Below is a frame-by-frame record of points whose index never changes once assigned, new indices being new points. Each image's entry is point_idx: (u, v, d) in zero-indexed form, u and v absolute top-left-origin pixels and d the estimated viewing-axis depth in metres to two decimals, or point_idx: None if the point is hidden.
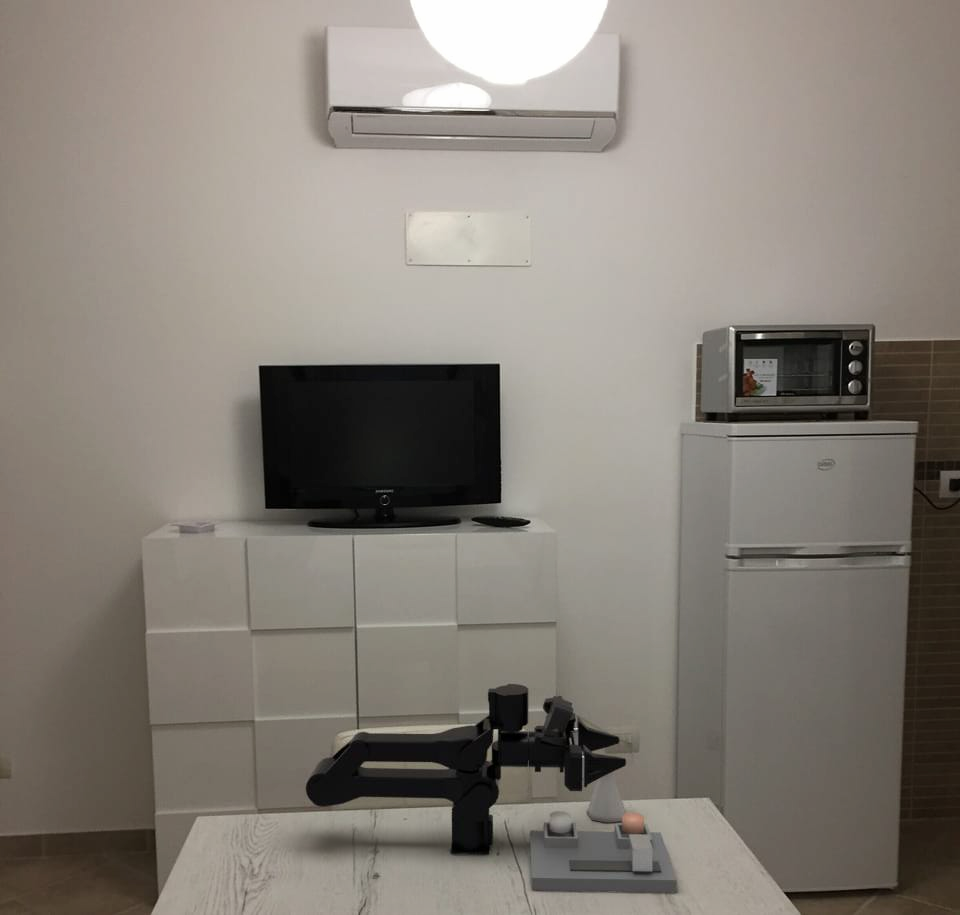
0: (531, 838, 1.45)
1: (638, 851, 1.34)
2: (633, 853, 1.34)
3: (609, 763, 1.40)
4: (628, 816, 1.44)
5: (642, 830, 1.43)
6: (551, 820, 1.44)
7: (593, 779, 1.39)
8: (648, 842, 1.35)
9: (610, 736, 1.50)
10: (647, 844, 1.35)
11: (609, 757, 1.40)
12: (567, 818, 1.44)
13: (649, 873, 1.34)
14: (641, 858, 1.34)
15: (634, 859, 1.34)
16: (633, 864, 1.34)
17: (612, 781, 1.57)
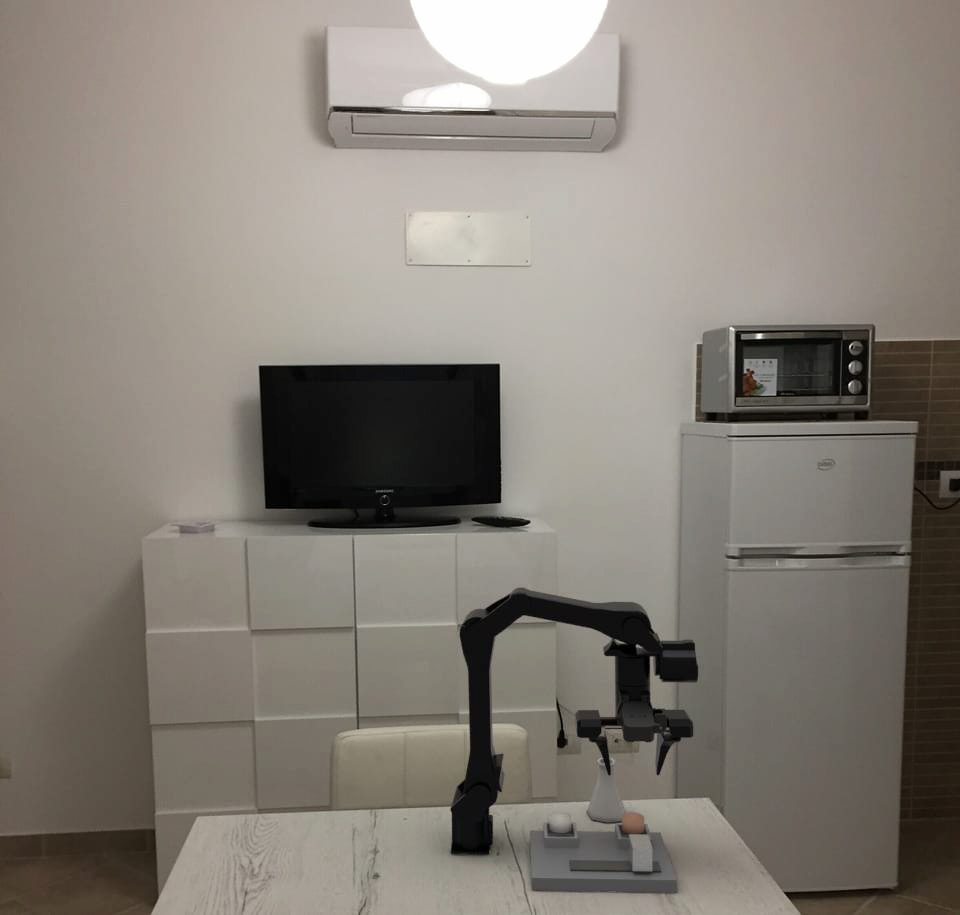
0: (531, 838, 1.45)
1: (638, 851, 1.34)
2: (633, 853, 1.34)
3: None
4: (628, 816, 1.44)
5: (642, 830, 1.43)
6: (551, 820, 1.44)
7: None
8: (648, 842, 1.35)
9: (657, 767, 1.43)
10: (647, 844, 1.35)
11: (605, 760, 1.43)
12: (567, 818, 1.44)
13: (649, 873, 1.34)
14: (641, 858, 1.34)
15: (634, 859, 1.34)
16: (633, 864, 1.34)
17: (612, 781, 1.57)
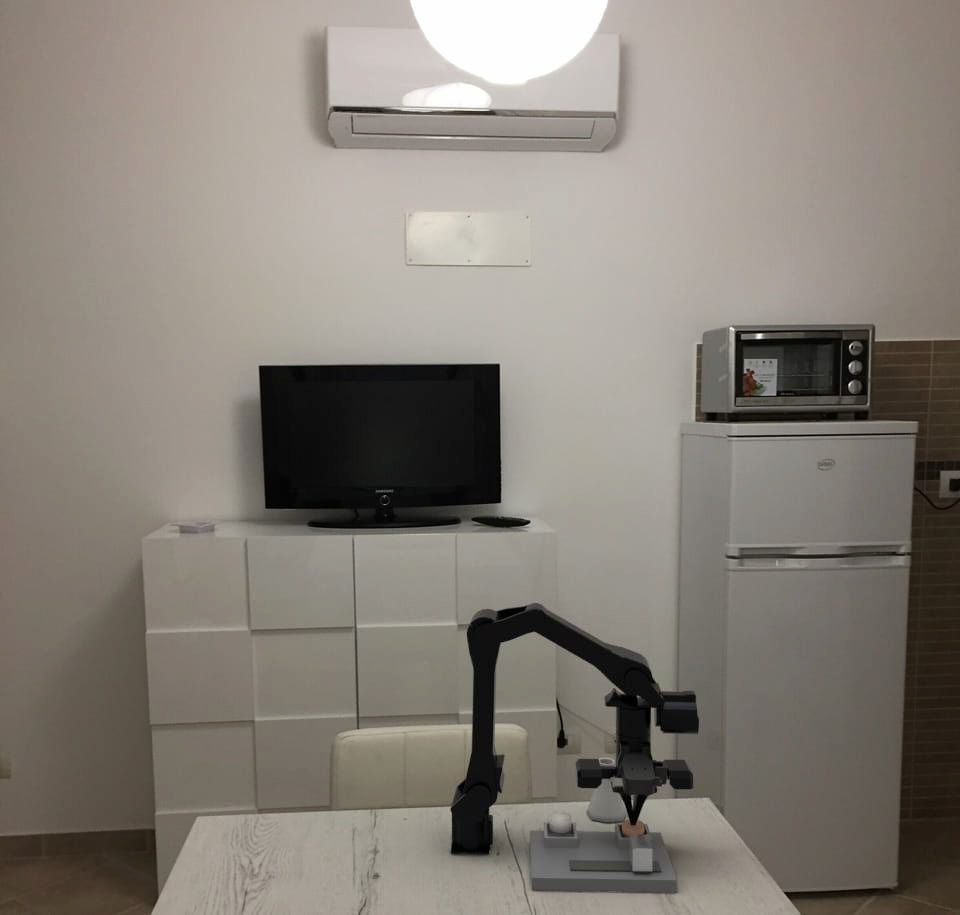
0: (531, 838, 1.45)
1: (638, 851, 1.34)
2: (633, 853, 1.34)
3: None
4: (628, 823, 1.45)
5: None
6: (551, 820, 1.44)
7: None
8: (648, 842, 1.35)
9: (633, 817, 1.44)
10: (647, 844, 1.35)
11: (628, 810, 1.43)
12: (567, 818, 1.44)
13: (649, 873, 1.34)
14: (641, 858, 1.34)
15: (634, 859, 1.34)
16: (633, 864, 1.34)
17: None
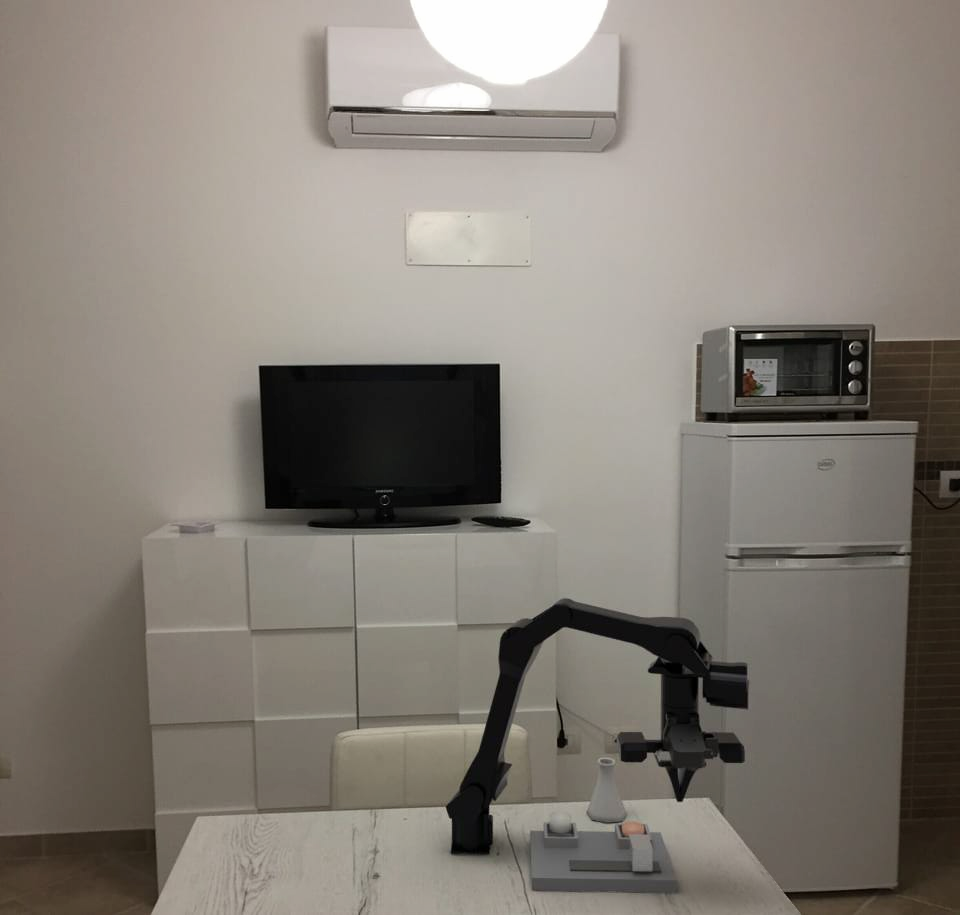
0: (531, 838, 1.45)
1: (638, 851, 1.34)
2: (633, 853, 1.34)
3: (671, 784, 1.35)
4: (628, 826, 1.45)
5: None
6: (551, 820, 1.44)
7: None
8: (648, 842, 1.35)
9: (680, 793, 1.35)
10: (647, 844, 1.35)
11: (674, 786, 1.34)
12: (567, 818, 1.44)
13: (649, 873, 1.34)
14: (641, 858, 1.34)
15: (634, 859, 1.34)
16: (633, 864, 1.34)
17: (612, 781, 1.57)
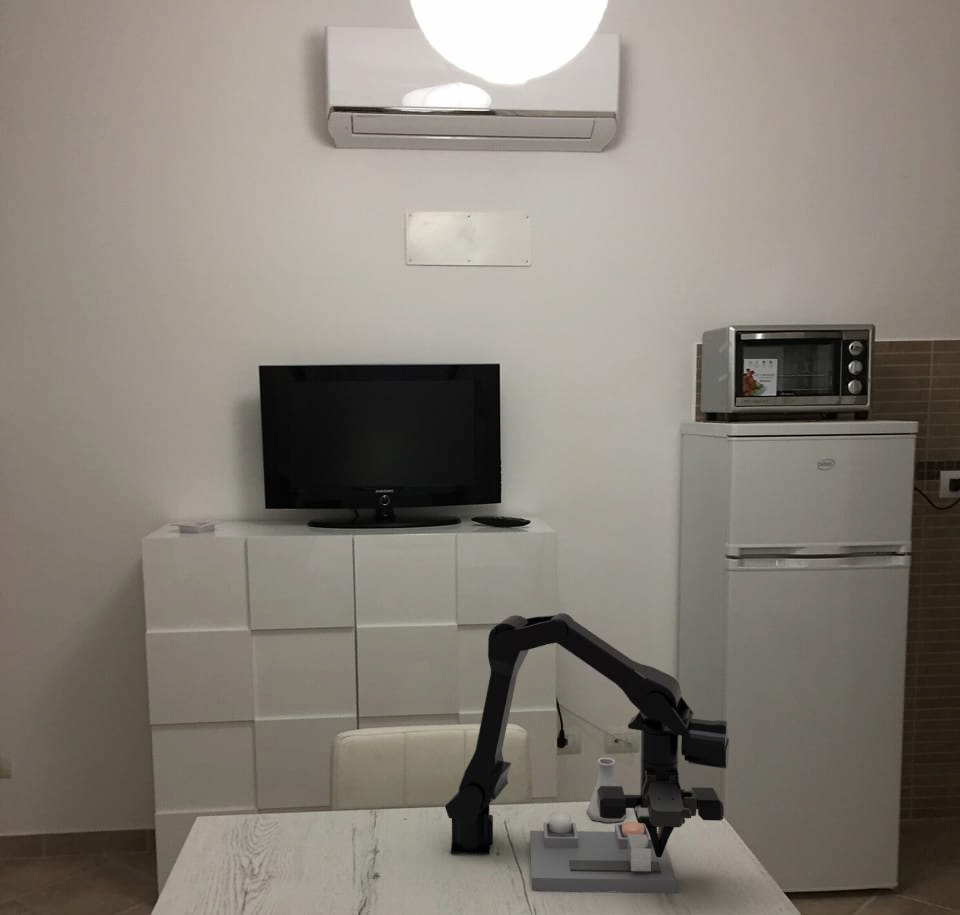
0: (531, 838, 1.45)
1: (637, 851, 1.34)
2: (631, 853, 1.34)
3: None
4: (628, 826, 1.45)
5: None
6: (551, 820, 1.44)
7: None
8: (646, 842, 1.35)
9: (659, 848, 1.35)
10: (645, 844, 1.35)
11: (653, 842, 1.35)
12: (567, 818, 1.44)
13: (649, 873, 1.34)
14: (639, 858, 1.34)
15: (632, 859, 1.34)
16: (631, 864, 1.34)
17: (612, 781, 1.57)
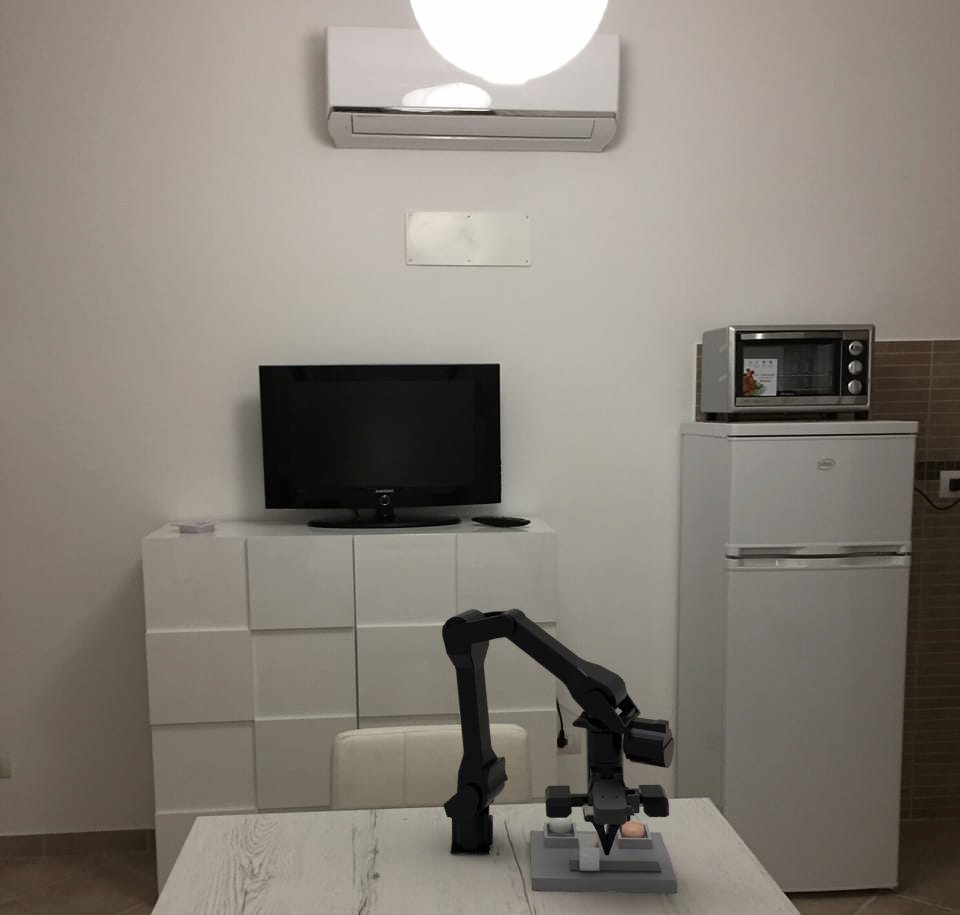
0: (531, 838, 1.45)
1: (585, 850, 1.34)
2: (580, 852, 1.34)
3: None
4: (628, 826, 1.45)
5: None
6: (551, 820, 1.44)
7: None
8: (596, 841, 1.36)
9: (606, 847, 1.35)
10: (594, 843, 1.35)
11: (601, 840, 1.35)
12: (567, 818, 1.44)
13: (649, 873, 1.34)
14: (588, 857, 1.34)
15: (581, 858, 1.34)
16: (580, 863, 1.34)
17: None
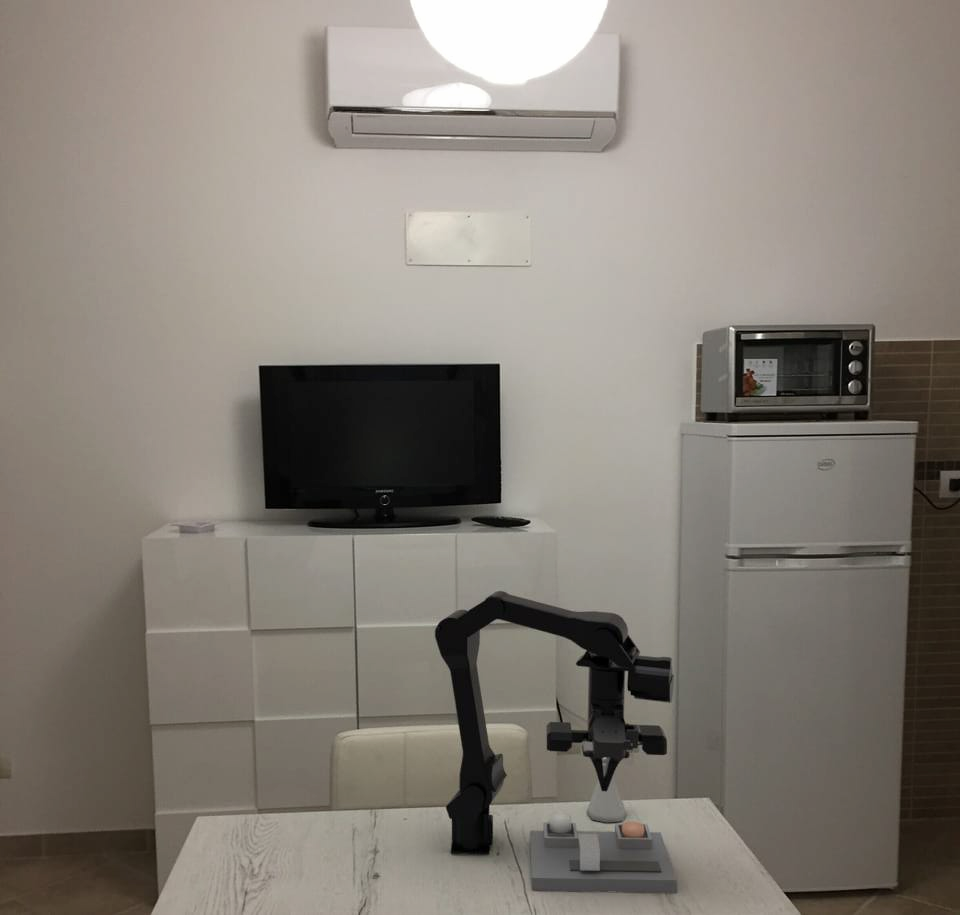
0: (531, 838, 1.45)
1: (586, 850, 1.34)
2: (580, 852, 1.34)
3: None
4: (628, 826, 1.45)
5: None
6: (551, 820, 1.44)
7: None
8: (596, 841, 1.36)
9: (604, 783, 1.39)
10: (594, 843, 1.35)
11: (599, 776, 1.38)
12: (567, 818, 1.44)
13: (649, 873, 1.34)
14: (588, 857, 1.34)
15: (581, 858, 1.34)
16: (580, 863, 1.34)
17: (612, 781, 1.57)
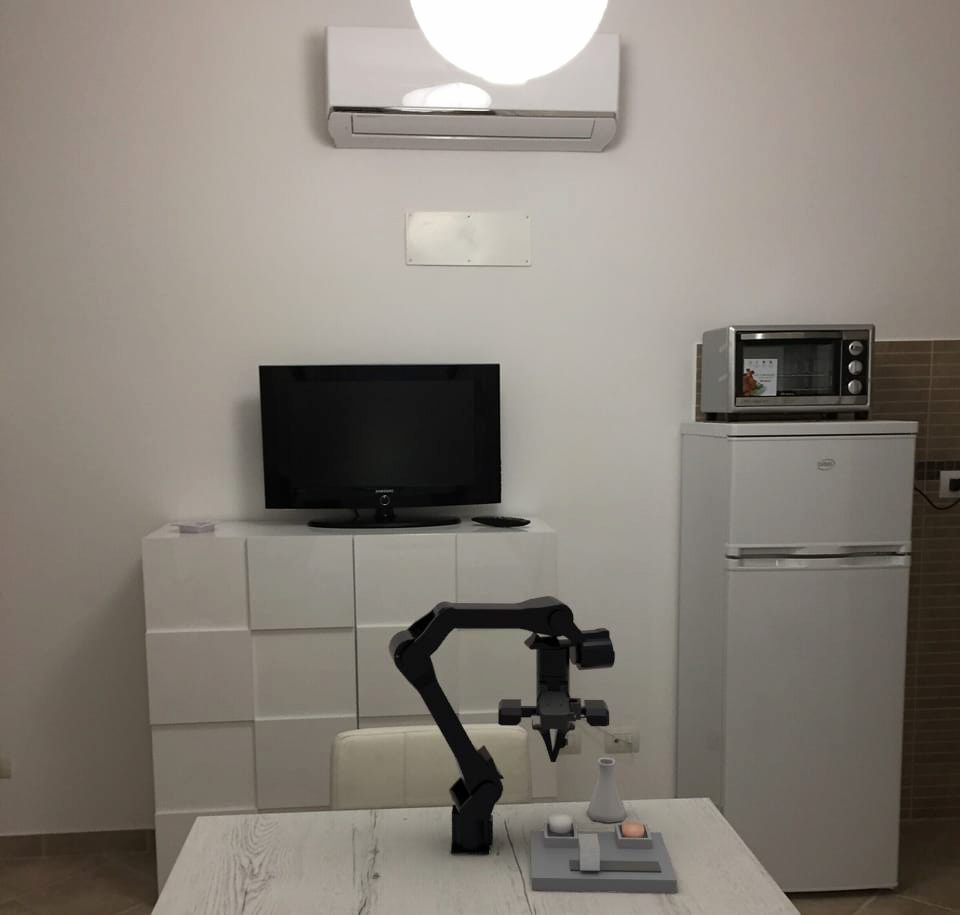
0: (531, 838, 1.45)
1: (586, 850, 1.34)
2: (580, 852, 1.34)
3: None
4: (628, 826, 1.45)
5: None
6: (551, 820, 1.44)
7: None
8: (596, 841, 1.36)
9: (553, 754, 1.49)
10: (594, 843, 1.35)
11: (547, 748, 1.49)
12: (567, 818, 1.44)
13: (649, 873, 1.34)
14: (588, 857, 1.34)
15: (581, 858, 1.34)
16: (580, 863, 1.34)
17: (612, 781, 1.57)
